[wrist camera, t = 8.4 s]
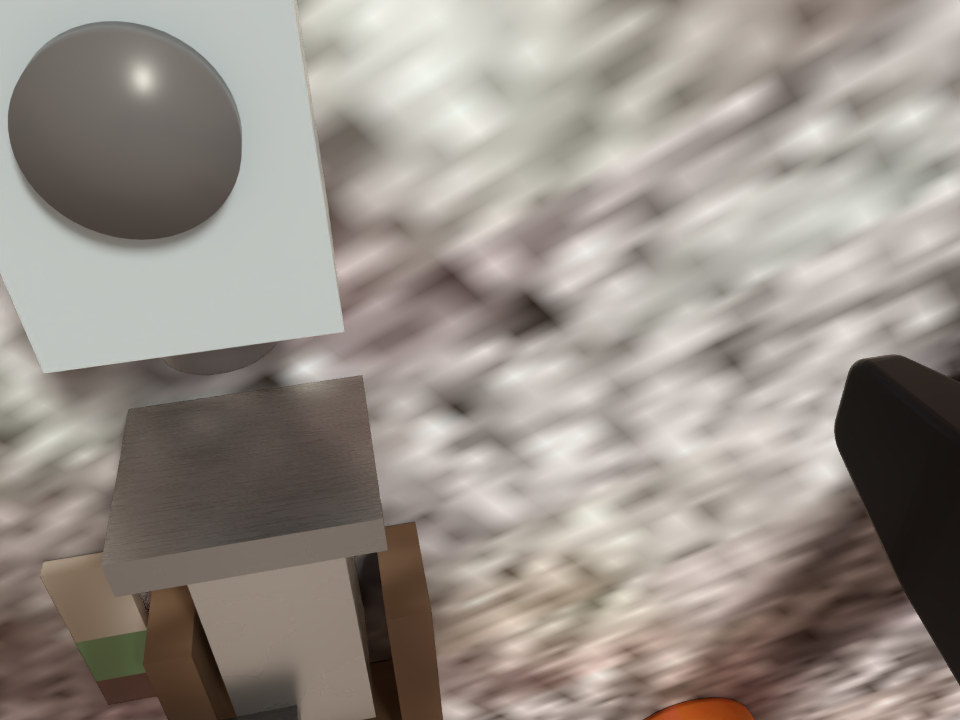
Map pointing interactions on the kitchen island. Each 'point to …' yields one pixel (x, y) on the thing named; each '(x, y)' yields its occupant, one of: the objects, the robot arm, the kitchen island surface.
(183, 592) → the housing
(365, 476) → the metal-capped square post
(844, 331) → the kitchen island surface
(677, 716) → the coffee cup
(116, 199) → the block with dome knob
